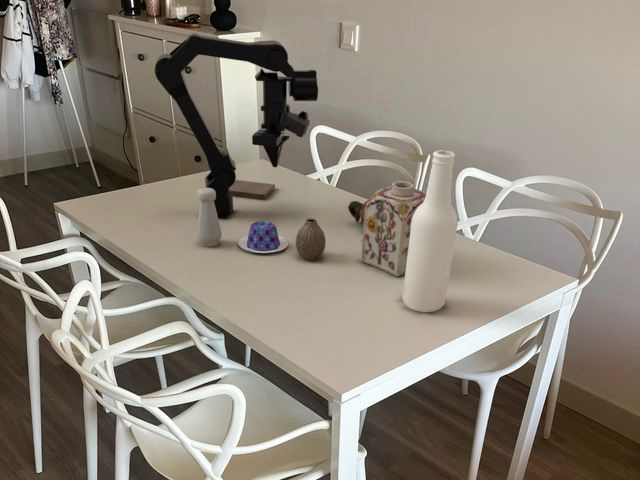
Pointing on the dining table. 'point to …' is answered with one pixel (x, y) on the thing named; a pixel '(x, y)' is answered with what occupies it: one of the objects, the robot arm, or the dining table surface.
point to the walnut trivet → (251, 189)
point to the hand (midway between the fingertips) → (275, 166)
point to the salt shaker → (208, 218)
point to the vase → (310, 240)
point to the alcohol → (432, 240)
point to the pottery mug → (357, 210)
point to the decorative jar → (390, 226)
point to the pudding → (263, 238)
